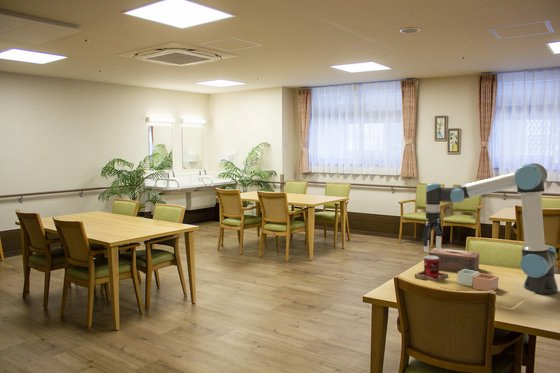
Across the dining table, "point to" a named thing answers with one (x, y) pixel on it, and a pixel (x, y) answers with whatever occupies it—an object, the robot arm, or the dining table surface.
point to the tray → (421, 276)
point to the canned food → (431, 266)
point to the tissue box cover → (456, 259)
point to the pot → (485, 282)
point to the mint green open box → (466, 277)
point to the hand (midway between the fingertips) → (432, 249)
